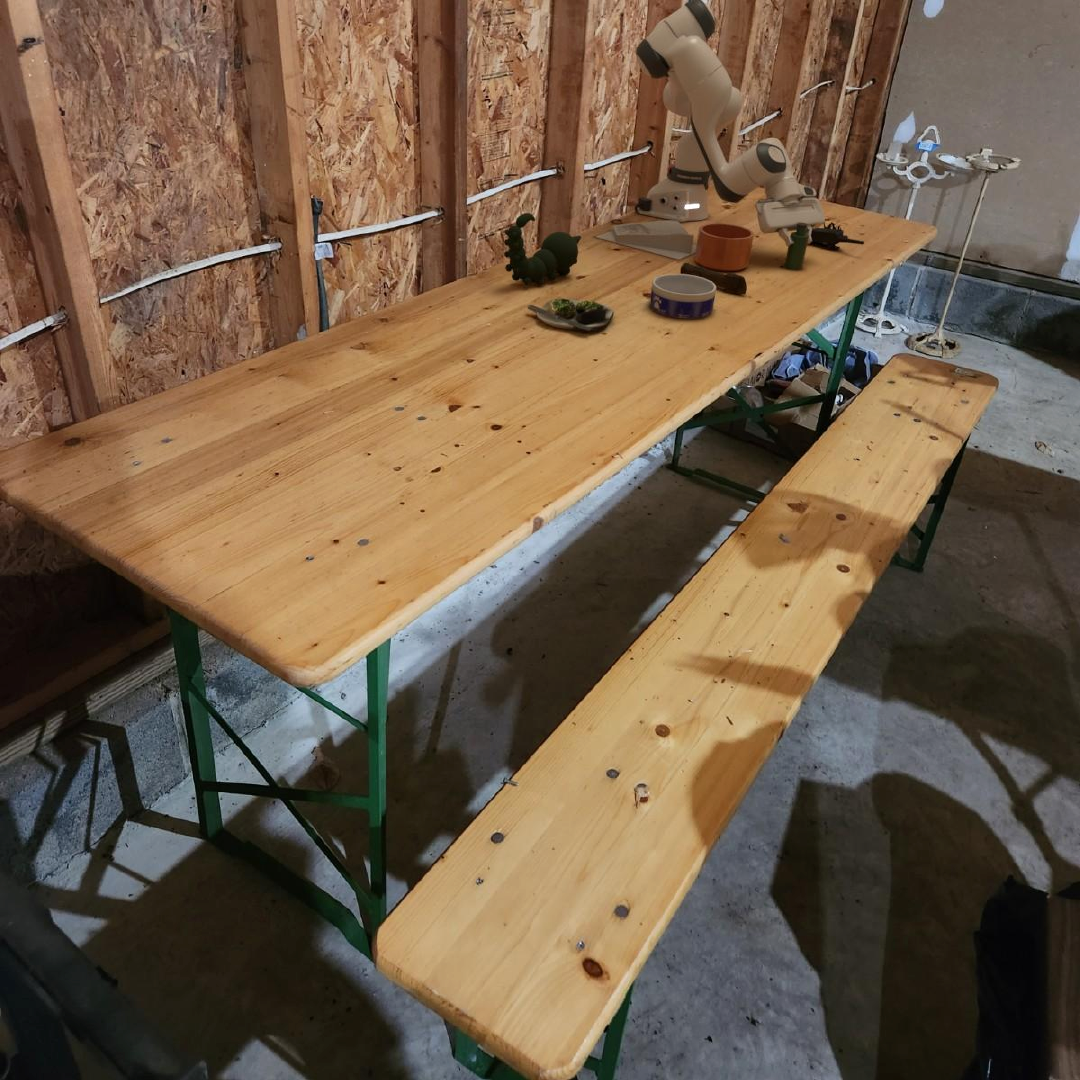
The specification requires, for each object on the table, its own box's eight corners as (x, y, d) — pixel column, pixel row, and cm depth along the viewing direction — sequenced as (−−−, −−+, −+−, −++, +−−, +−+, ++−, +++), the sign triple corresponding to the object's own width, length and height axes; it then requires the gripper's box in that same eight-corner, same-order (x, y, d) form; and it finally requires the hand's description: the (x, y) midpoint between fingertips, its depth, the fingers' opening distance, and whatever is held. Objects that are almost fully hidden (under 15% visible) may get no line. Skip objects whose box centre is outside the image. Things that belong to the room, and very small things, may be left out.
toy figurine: (523, 301, 227) (593, 272, 240) (522, 224, 215) (595, 198, 229) (497, 290, 232) (567, 262, 246) (494, 214, 220) (568, 190, 234)
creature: (832, 234, 289) (814, 230, 285) (839, 217, 286) (821, 213, 282) (849, 242, 283) (830, 238, 279) (856, 224, 280) (837, 220, 277)
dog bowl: (636, 305, 224) (639, 280, 221) (676, 292, 233) (679, 268, 230) (686, 324, 215) (689, 299, 212) (725, 310, 224) (729, 286, 221)
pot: (690, 267, 250) (695, 234, 245) (699, 252, 262) (704, 220, 257) (744, 276, 247) (750, 242, 242) (750, 260, 259) (756, 227, 253)
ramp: (595, 237, 268) (596, 218, 265) (624, 226, 279) (626, 208, 276) (678, 259, 255) (681, 240, 252) (706, 248, 266) (709, 228, 263)
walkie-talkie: (808, 230, 279) (872, 239, 268) (800, 248, 279) (863, 258, 268) (803, 218, 274) (868, 227, 263) (794, 236, 274) (859, 245, 262)
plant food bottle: (783, 268, 254) (792, 224, 248) (785, 263, 258) (793, 220, 252) (801, 271, 253) (810, 227, 247) (802, 266, 257) (811, 222, 250)
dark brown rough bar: (677, 278, 242) (680, 261, 240) (686, 275, 245) (689, 257, 242) (739, 299, 232) (742, 280, 230) (747, 295, 235) (751, 277, 232)
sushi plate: (516, 325, 209) (517, 305, 206) (539, 300, 223) (540, 281, 220) (599, 339, 205) (601, 319, 202) (617, 312, 219) (619, 293, 216)
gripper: (760, 193, 246) (776, 241, 245) (819, 188, 254) (835, 235, 253) (747, 206, 252) (762, 253, 250) (805, 201, 260) (821, 246, 258)
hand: (799, 243), depth 252 cm, fingers closed on plant food bottle, 5 cm apart
